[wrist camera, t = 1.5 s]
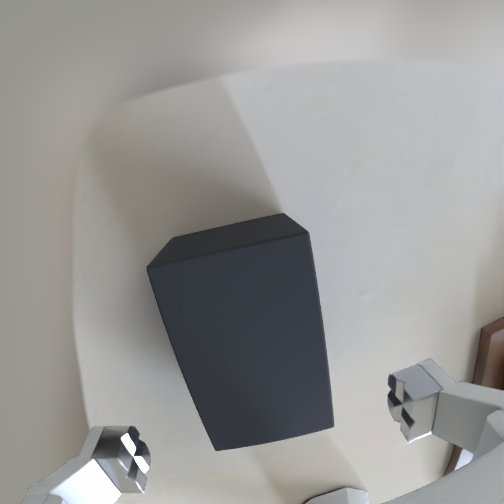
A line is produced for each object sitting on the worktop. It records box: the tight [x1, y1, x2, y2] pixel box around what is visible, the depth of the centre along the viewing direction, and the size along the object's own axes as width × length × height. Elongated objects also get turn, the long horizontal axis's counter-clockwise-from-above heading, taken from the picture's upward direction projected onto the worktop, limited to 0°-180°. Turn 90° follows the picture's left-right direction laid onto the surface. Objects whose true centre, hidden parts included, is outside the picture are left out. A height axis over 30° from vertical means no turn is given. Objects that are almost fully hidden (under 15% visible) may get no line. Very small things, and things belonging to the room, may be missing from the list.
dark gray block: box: [147, 213, 334, 451], centre depth 14 cm, size 9×6×5 cm, turn 12°
